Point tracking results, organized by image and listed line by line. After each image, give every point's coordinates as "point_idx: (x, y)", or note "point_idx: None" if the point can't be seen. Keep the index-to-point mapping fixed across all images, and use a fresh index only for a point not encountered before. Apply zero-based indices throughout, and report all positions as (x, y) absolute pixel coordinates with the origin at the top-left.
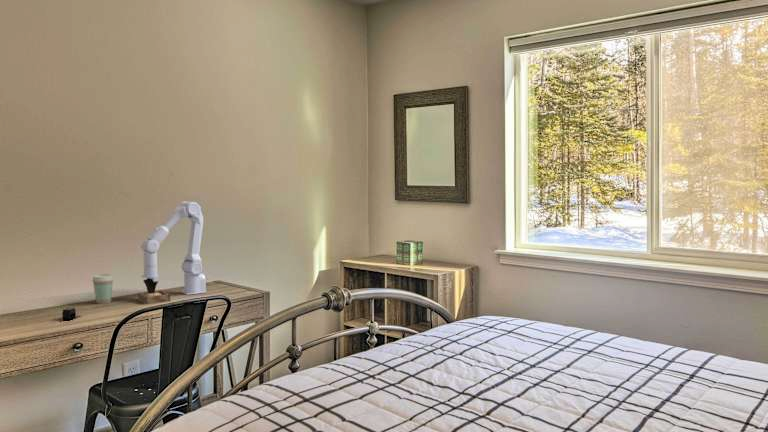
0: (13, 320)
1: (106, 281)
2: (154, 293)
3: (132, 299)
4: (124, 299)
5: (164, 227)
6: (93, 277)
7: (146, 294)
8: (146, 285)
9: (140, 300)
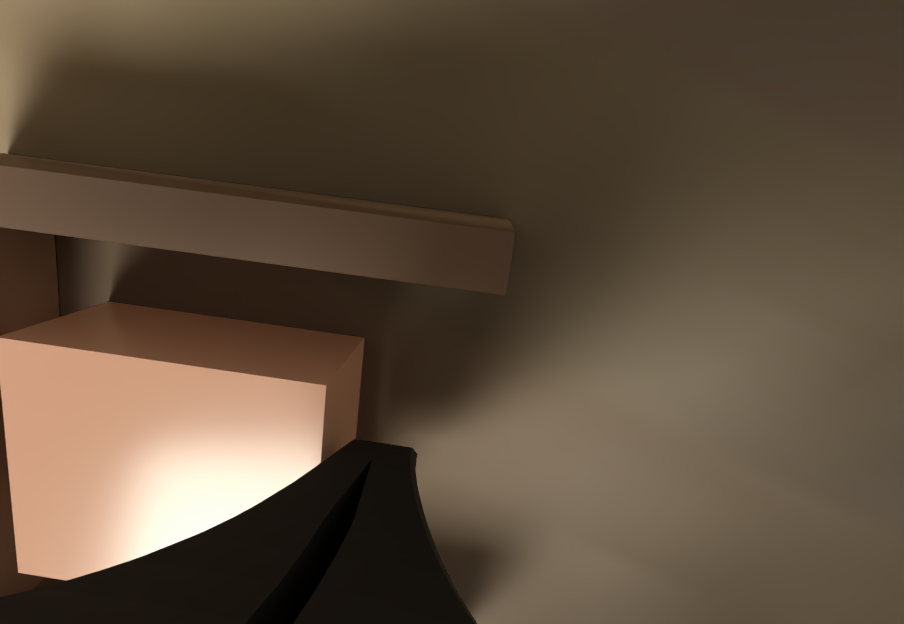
0: None
1: None
2: None
3: (639, 155)
4: (789, 9)
5: None
6: None
7: (322, 379)
8: (346, 574)
9: (305, 193)
